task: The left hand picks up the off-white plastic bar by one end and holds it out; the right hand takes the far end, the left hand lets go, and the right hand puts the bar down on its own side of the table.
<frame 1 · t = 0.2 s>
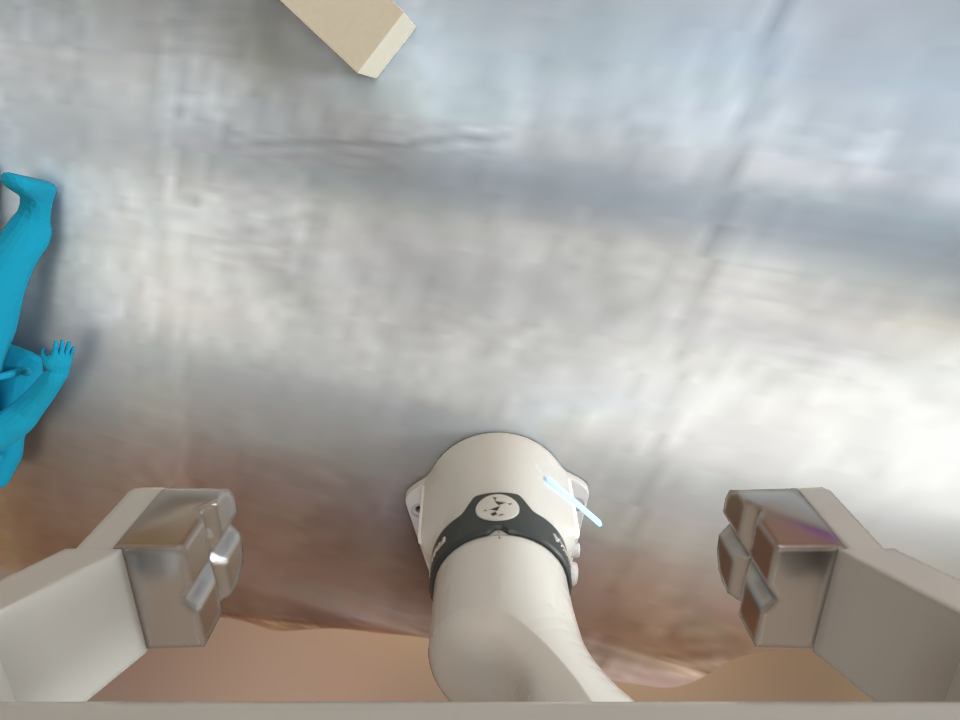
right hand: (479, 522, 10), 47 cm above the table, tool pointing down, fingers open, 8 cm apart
toy: (12, 317, 58), on the table
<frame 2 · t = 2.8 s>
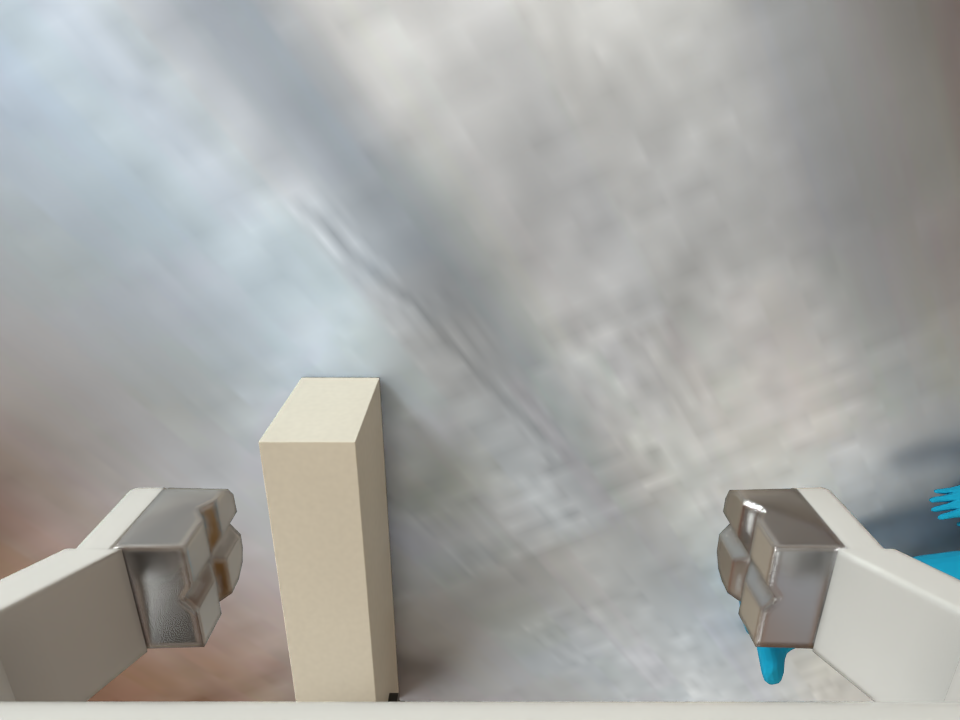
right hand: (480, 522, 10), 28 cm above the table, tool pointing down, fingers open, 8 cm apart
bar: (355, 556, 45), on the table, touching left hand
toy: (931, 535, 45), on the table
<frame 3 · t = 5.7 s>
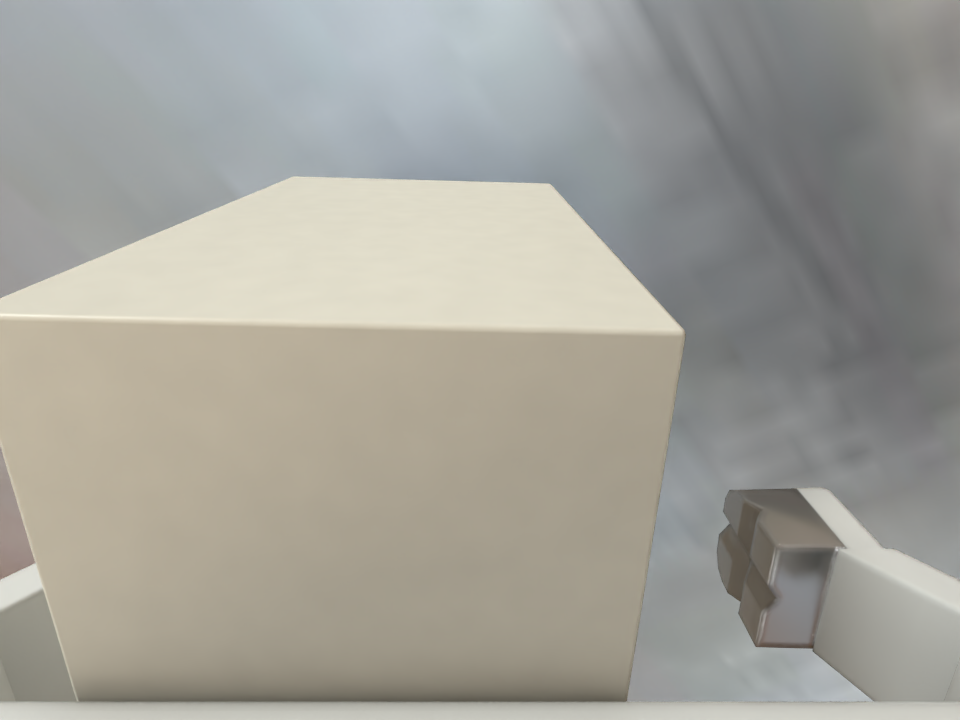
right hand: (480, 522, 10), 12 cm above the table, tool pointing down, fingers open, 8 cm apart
bar: (425, 703, 17), point 8 cm above the table, touching left hand
when the left hand's fingers open (12 cm above the table, at t = 7.4 s): bar stays where it is, held by the right hand.
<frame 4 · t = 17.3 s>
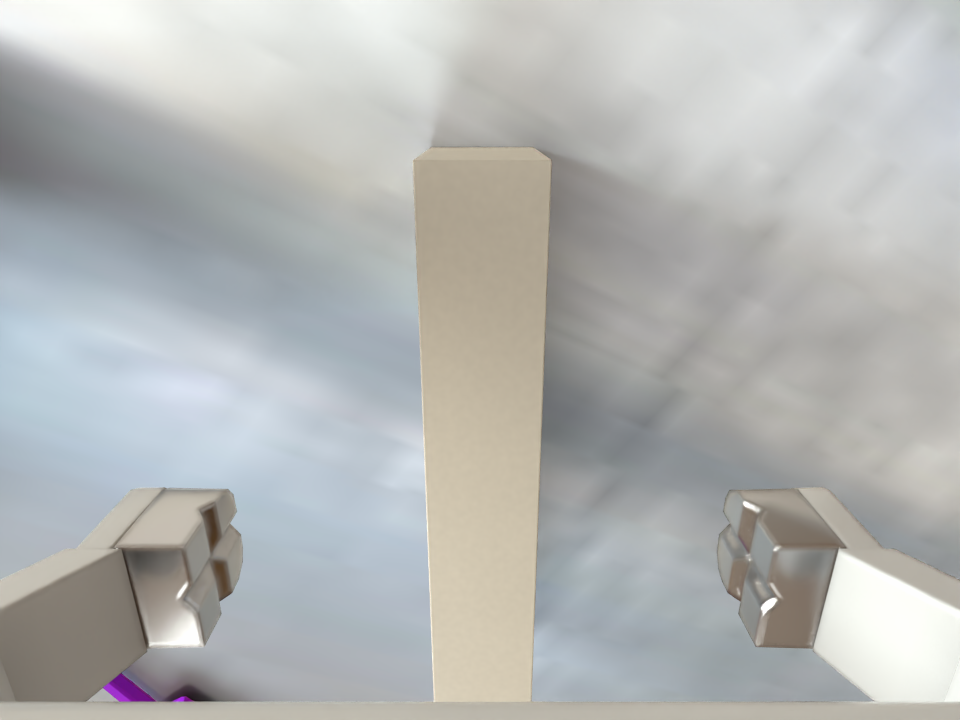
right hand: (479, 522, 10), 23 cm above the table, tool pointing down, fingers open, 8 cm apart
bar: (482, 409, 35), on the table
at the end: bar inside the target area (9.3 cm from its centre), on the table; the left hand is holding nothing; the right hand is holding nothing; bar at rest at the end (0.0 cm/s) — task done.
